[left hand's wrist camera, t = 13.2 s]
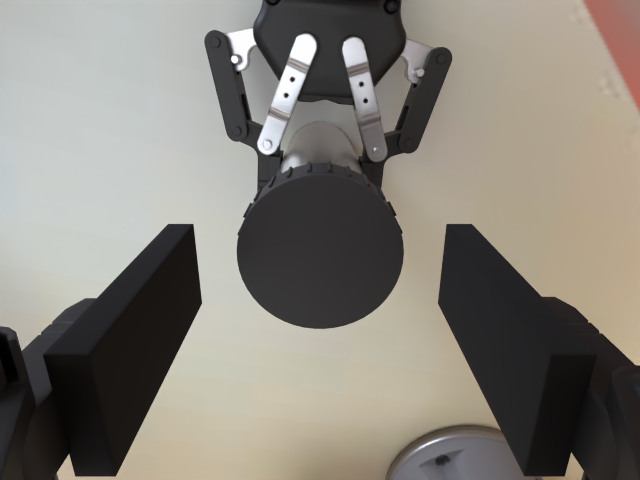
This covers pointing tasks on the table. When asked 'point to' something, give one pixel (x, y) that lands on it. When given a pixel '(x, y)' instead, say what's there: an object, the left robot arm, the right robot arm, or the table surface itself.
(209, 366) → the table surface
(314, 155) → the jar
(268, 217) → the lid
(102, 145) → the table surface
